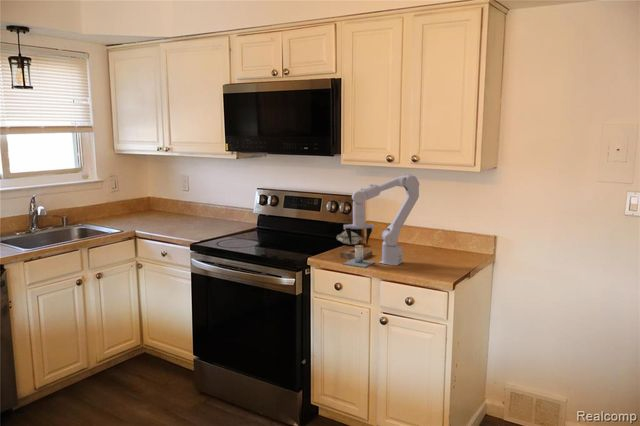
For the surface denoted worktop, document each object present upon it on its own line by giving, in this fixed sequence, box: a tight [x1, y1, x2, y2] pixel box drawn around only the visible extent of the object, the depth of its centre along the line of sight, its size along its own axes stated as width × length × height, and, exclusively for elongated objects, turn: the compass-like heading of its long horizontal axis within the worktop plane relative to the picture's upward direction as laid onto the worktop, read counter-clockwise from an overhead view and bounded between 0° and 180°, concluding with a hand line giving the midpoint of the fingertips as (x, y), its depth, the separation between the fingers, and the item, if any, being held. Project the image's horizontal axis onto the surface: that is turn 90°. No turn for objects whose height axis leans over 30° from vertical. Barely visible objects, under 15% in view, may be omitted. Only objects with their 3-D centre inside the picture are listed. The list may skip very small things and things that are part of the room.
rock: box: [335, 229, 364, 246], centre depth 288 cm, size 18×10×10 cm
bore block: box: [339, 247, 373, 260], centre depth 261 cm, size 12×12×2 cm
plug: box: [354, 244, 364, 263], centre depth 247 cm, size 4×4×8 cm
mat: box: [342, 259, 375, 268], centre depth 247 cm, size 12×10×1 cm
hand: (358, 243), depth 245 cm, fingers open, 7 cm apart
